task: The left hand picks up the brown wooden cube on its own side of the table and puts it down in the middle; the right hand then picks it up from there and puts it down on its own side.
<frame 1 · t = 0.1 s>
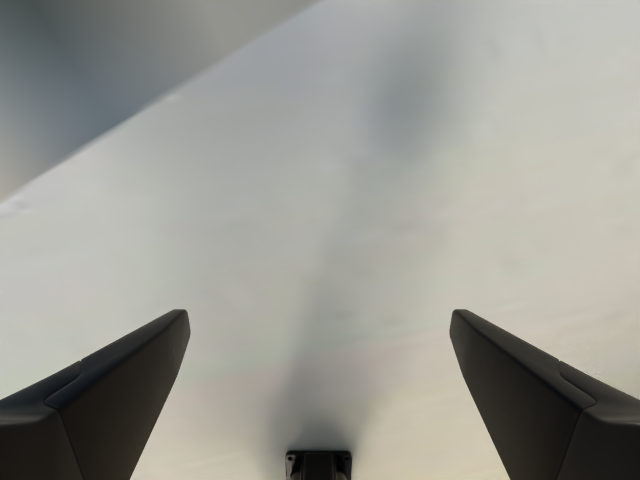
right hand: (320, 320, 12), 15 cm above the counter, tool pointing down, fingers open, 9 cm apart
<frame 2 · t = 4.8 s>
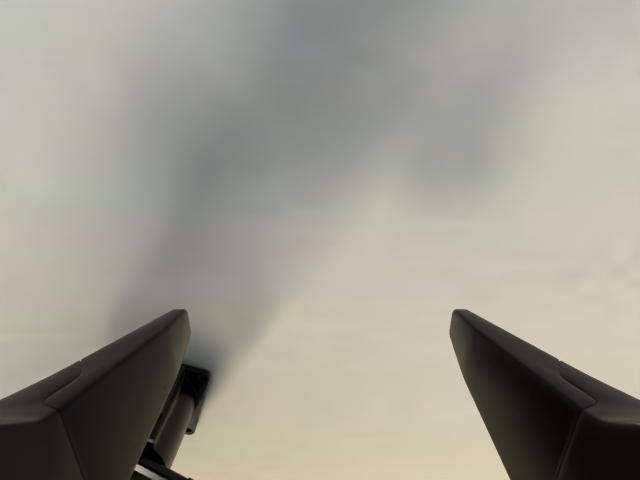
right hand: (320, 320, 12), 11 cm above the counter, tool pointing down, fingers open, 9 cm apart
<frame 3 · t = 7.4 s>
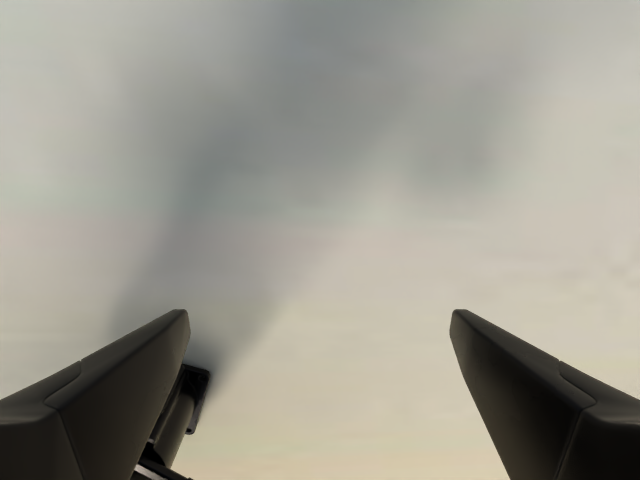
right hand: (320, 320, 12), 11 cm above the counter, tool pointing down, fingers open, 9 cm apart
when the left hand's fingers open (1 cm above the counter, at t = 10.3 s): brown wooden cube drops 1 cm, on the counter.
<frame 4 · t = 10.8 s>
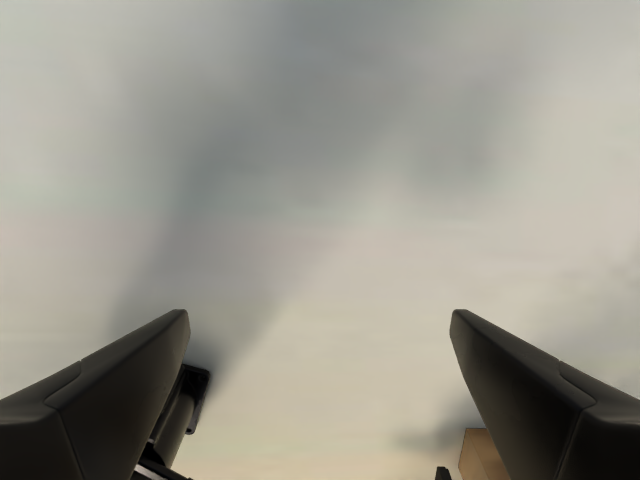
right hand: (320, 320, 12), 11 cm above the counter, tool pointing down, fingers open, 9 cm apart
brown wooden cube: (486, 448, 29), on the counter
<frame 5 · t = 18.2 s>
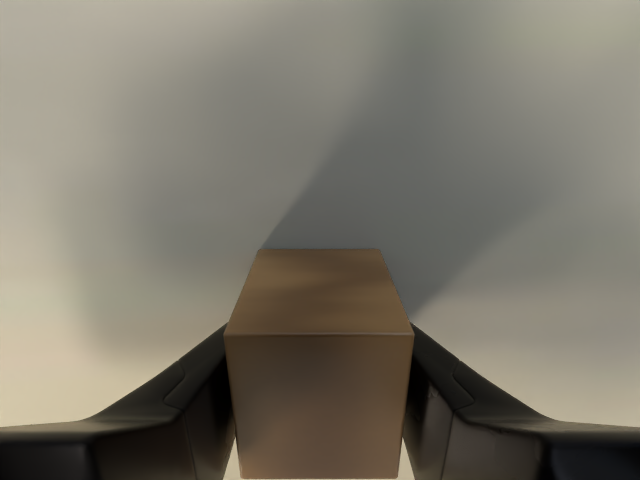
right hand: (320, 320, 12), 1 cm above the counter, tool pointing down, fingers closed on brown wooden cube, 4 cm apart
brown wooden cube: (319, 306, 13), on the counter, touching right hand
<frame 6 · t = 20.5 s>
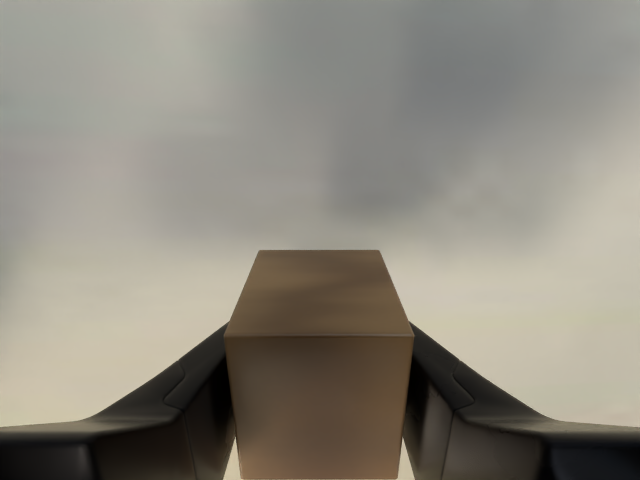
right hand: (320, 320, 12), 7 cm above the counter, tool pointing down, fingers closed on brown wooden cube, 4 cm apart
brown wooden cube: (319, 307, 13), point 6 cm above the counter, touching right hand
when the right hand's fingers open (2 cm above the counter, at t = 22.7 s): brown wooden cube drops 1 cm, on the counter.
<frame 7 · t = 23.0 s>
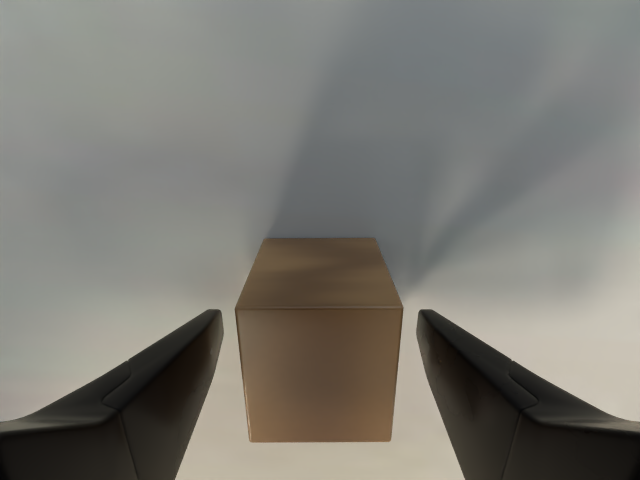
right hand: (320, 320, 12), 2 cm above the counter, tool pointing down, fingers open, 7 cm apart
brown wooden cube: (319, 292, 14), on the counter
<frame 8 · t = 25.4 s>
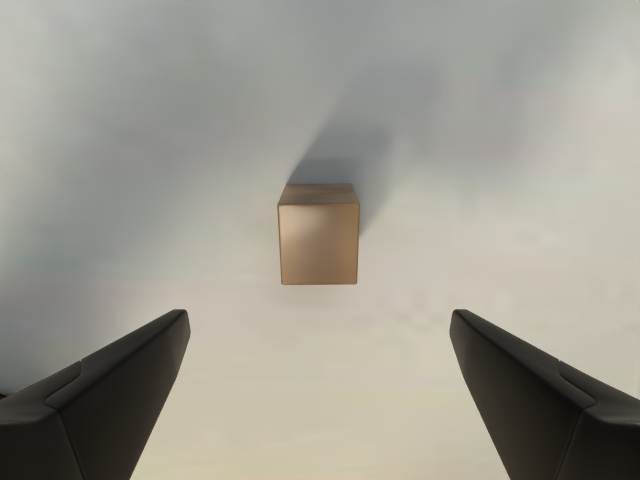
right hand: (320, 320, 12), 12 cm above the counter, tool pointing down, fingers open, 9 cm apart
brown wooden cube: (319, 218, 23), on the counter
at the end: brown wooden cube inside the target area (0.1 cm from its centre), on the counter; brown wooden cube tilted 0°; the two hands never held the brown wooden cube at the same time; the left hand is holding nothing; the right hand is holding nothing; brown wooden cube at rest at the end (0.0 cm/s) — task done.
